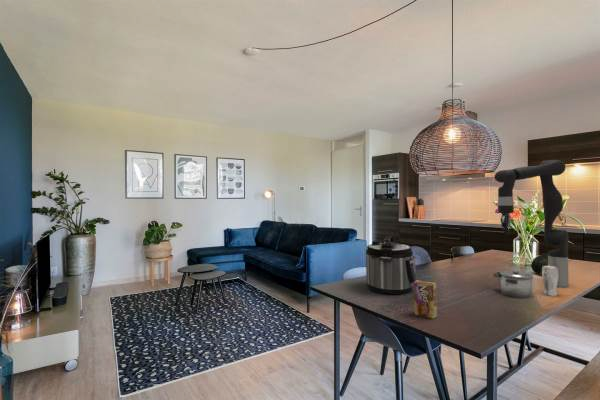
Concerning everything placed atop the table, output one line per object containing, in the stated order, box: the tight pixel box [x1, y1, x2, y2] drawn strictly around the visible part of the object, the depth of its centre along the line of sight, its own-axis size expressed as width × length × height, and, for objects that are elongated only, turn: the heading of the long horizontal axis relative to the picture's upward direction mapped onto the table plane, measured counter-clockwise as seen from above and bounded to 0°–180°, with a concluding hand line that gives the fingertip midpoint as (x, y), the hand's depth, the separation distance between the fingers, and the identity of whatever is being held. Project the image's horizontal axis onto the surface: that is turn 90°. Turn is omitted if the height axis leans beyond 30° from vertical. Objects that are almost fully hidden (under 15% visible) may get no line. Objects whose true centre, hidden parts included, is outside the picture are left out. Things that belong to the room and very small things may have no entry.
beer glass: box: [541, 266, 559, 297], centre depth 167 cm, size 7×7×15 cm
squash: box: [530, 253, 548, 276], centre depth 209 cm, size 14×15×15 cm
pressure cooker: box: [365, 235, 417, 295], centre depth 183 cm, size 30×28×32 cm
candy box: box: [413, 279, 438, 319], centre depth 140 cm, size 9×4×15 cm, turn 47°
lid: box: [496, 269, 534, 279], centre depth 169 cm, size 15×16×2 cm
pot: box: [493, 271, 533, 299], centre depth 170 cm, size 19×17×10 cm
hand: (506, 234), depth 176 cm, fingers closed
